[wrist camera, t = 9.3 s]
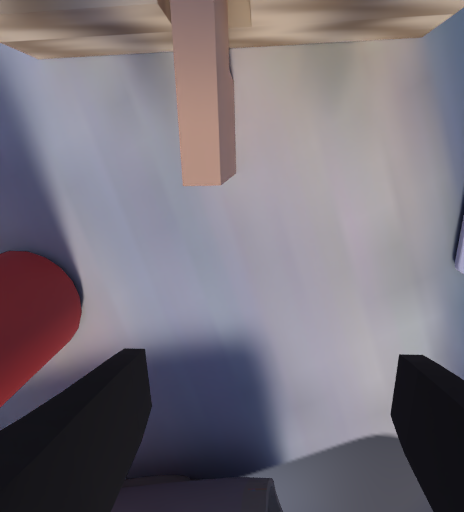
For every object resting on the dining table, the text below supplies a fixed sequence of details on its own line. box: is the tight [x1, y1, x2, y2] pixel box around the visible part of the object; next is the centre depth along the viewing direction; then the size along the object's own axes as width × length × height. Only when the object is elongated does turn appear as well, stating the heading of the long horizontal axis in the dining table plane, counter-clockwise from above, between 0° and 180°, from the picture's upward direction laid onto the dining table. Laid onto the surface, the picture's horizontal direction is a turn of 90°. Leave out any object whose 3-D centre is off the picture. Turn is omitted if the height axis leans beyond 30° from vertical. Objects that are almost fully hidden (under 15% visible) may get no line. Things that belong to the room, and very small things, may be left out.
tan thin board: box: [170, 0, 236, 186], centre depth 12 cm, size 1×12×7 cm, turn 2°
